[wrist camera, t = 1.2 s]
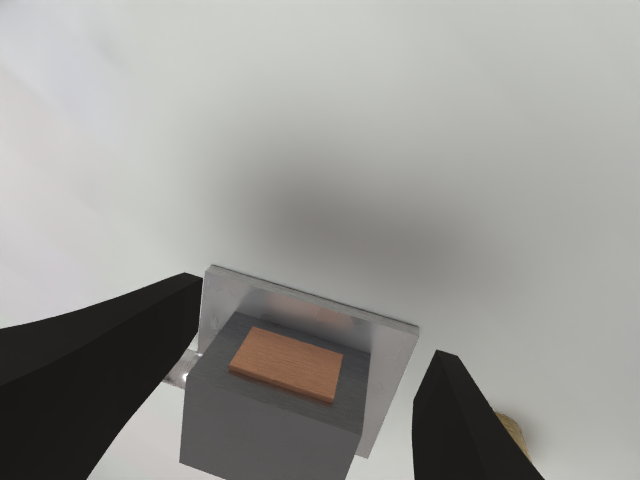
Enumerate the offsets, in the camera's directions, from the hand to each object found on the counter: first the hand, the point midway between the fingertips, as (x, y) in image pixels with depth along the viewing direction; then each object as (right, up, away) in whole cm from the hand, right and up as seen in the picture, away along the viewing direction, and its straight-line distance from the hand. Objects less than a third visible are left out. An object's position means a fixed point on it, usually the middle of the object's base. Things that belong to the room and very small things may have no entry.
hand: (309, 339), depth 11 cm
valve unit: (-1, -5, +11) cm, 12 cm away
